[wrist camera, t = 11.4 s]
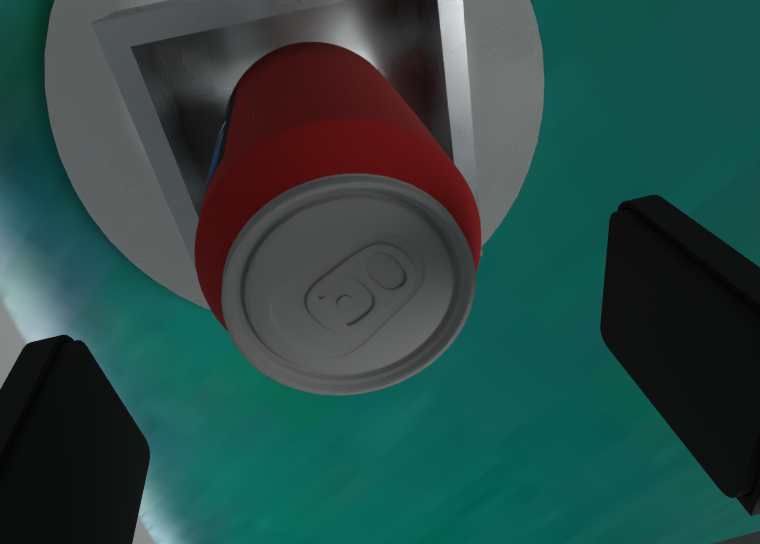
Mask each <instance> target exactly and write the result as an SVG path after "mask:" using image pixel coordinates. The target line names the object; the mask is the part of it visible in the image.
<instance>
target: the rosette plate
mask: <svg viewBox="0 0 760 544" xmlns="http://www.w3.org/2000/svg"><path fill="white" fill-rule="evenodd" d="M300 42H324V43H330V44H334V45H338V46H341V47H344V48H347V49H349V50H351V51H353V52H355V53H357V54H358V55H360V56H362V57H363V58H365V59H366V60H367V61H369V62H370V63H371V64H372V65H373V66H374V67H375V68H376V69H377V70H378V71H379V72H380V73H381V74H382V75H383V76H384V77H385V79H386V80H387V81H388V82H389V83H390V84H391V85H392V87H393V88H394V89H395V90H396V91H397V92H398V94H399V95H400V96H401V97H402V98H403V100H404V101H405V102H406V103H407V104H408V106H409V107H410V108H411V109H412V111H413V112H414V113H415V114H416V116H417V117H418V118H419V119H420V121H421V122H422V123H423V124H424V126H425V127H426V128H427V129H428V131H429V132H430V133H431V134H432V136H433V137H434V138H435V140H436V141H437V142H438V144H439V145H440V146H441V147H442V149H443V150H444V151H445V153H446V154H447V155H448V157H449V158H450V159H451V161H452V162H453V163H454V164H455V166H456V167H457V168H458V170H459V171H460V172H461V174H462V175H463V177H464V178H465V180H466V182H467V183H468V185H469V187H470V189H471V191H472V194H473V196H474V199H475V201H476V204H477V208H478V211H479V216H480V222H481V253H480V256H482V255H483V253H482V246H483V245H484V244H485V243H486V242H487V241H488V239H489V238H490V237H491V235H492V234H493V233H494V231H495V230H496V229H497V227H498V226H499V224H500V223H501V222H502V220H503V219H504V218H505V216H506V214H507V212H508V211H509V209H510V207H511V205H512V204H513V202H514V200H515V199H516V197H517V195H518V193H519V191H520V188H521V186H522V184H523V182H524V179H525V177H526V175H527V172H528V170H529V167H530V164H531V161H532V157H533V154H534V151H535V148H536V144H537V141H538V135H539V130H540V124H541V118H542V113H543V97H544V69H543V54H542V46H541V41H540V36H539V31H538V26H537V21H536V17H535V14H534V11H533V8H532V5H531V2H530V0H55V1H54V4H53V7H52V10H51V14H50V19H49V26H48V33H47V40H46V47H45V93H46V99H47V106H48V113H49V120H50V125H51V129H52V132H53V136H54V139H55V142H56V146H57V149H58V153H59V156H60V159H61V161H62V163H63V165H64V168H65V170H66V172H67V175H68V177H69V179H70V181H71V184H72V186H73V188H74V190H75V191H76V193H77V195H78V196H79V198H80V200H81V201H82V203H83V205H84V206H85V208H86V210H87V211H88V213H89V215H90V216H91V217H92V219H93V220H94V221H95V222H96V224H97V225H98V226H99V228H100V229H101V230H102V231H103V233H104V234H105V235H106V236H107V238H108V239H109V240H110V241H111V242H112V243H113V244H114V245H115V246H116V247H117V248H118V249H119V250H120V251H121V252H122V253H123V254H124V255H125V256H126V257H127V258H128V259H129V260H130V261H131V262H132V263H133V264H134V265H136V266H137V267H138V268H139V269H141V270H142V271H143V272H144V273H146V274H147V275H148V276H149V277H151V278H152V279H153V280H154V281H156V282H158V283H159V284H161V285H162V286H164V287H166V288H167V289H169V290H170V291H172V292H174V293H175V294H177V295H179V296H180V297H183V298H185V299H187V300H189V301H191V302H193V303H195V304H197V305H199V306H201V307H203V308H206V309H209V310H211V309H210V307H209V305H208V303H207V301H206V299H205V297H204V295H203V292H202V290H201V287H200V284H199V281H198V277H197V272H196V267H195V257H194V250H195V236H196V230H197V226H198V221H199V216H200V212H201V207H202V203H203V198H204V193H205V189H206V184H207V180H208V176H209V172H210V168H211V163H212V159H213V155H214V151H215V147H216V143H217V140H218V136H219V132H220V128H221V125H222V121H223V118H224V114H225V111H226V108H227V105H228V101H229V98H230V96H231V94H232V91H233V89H234V87H235V86H236V84H237V82H238V81H239V79H240V78H241V76H242V75H243V74H244V73H245V72H246V70H247V69H248V68H249V67H250V66H251V65H252V64H254V63H255V62H256V61H257V60H259V59H260V58H261V57H263V56H264V55H266V54H268V53H269V52H271V51H273V50H276V49H278V48H280V47H283V46H286V45H290V44H294V43H300ZM216 319H217V318H216Z"/></svg>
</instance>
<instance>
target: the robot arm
mask: <svg viewBox="0 0 760 544" xmlns="http://www.w3.org/2000/svg"><path fill="white" fill-rule="evenodd" d="M600 329H601V335H602V338H603V340H604V342H605V344H606V346H607V347H608V348H609V350H610V351H611V352H612V353H613V355H614V356H615V357H616V359H617V360H618V361H619V362H620V364H621V365H622V366H623V367H624V369H625V370H626V371H627V373H628V374H629V375H630V376H631V378H632V379H633V380H634V381H635V383H636V384H637V385H638V386H639V388H640V389H641V390H642V392H643V393H644V394H645V395H646V397H647V398H648V399H649V400H650V402H651V403H652V404H653V405H654V407H655V408H656V409H657V411H658V412H659V413H660V414H661V416H662V417H663V418H664V419H665V421H666V422H667V423H668V424H669V426H670V427H671V428H672V430H673V431H674V432H675V433H676V435H677V436H678V437H679V438H680V440H681V441H682V442H683V443H684V445H685V446H686V447H687V449H688V450H689V451H690V452H691V454H692V455H693V456H694V457H695V459H696V460H697V461H698V462H699V464H700V465H701V466H702V468H703V469H704V470H705V471H706V473H707V474H708V475H709V476H710V478H711V479H712V480H713V482H714V483H715V484H716V485H717V487H718V488H719V489H720V490H721V491H722V492H723V493H724V494H725V495H726V496H728V497H731V498H735V497H736V498H737V499H738V500H739V502H740V503H741V504H742V505H743V507H744V508H745V509H746V510H747V511H748V513H749V514H750V515H751V516H753V515H757V514H760V267H758V266H757V265H756V264H754V263H753V262H751V261H750V260H749V259H747V258H746V257H744V256H743V255H742V254H740V253H739V252H737V251H736V250H735V249H733V248H732V247H730V246H729V245H728V244H726V243H725V242H723V241H722V240H721V239H719V238H718V237H716V236H715V235H714V234H712V233H711V232H710V231H708V230H707V229H705V228H704V227H703V226H701V225H700V224H698V223H697V222H696V221H694V220H693V219H691V218H690V217H689V216H687V215H686V214H684V213H683V212H682V211H680V210H679V209H677V208H676V207H675V206H673V205H672V204H670V203H669V202H668V201H666V200H665V199H663V198H662V197H660V196H658V195H650V196H645V197H641V198H637V199H633V200H629V201H624V202H622V203H621V204H620V206H619V207H618V211H617V212H614V213H613V214H612V215H611V217H610V221H609V232H608V244H607V255H606V267H605V279H604V290H603V302H602V313H601V325H600ZM149 460H150V451H149V446H148V443H147V441H146V439H145V437H144V436H143V434H142V432H141V431H140V429H139V428H138V426H137V425H136V423H135V421H134V420H133V418H132V417H131V415H130V413H129V412H128V410H127V409H126V407H125V406H124V404H123V402H122V401H121V399H120V398H119V396H118V395H117V393H116V391H115V390H114V388H113V387H112V385H111V384H110V382H109V380H108V379H107V377H106V376H105V374H104V373H103V371H102V369H101V368H100V366H99V365H98V363H97V362H96V360H95V358H94V357H93V355H92V354H91V352H90V351H89V349H88V347H87V346H86V345H85V343H84V342H82V341H81V340H76V341H74V340H73V339H72V338H71V337H69V336H68V335H60V336H55V337H51V338H47V339H43V340H39V341H34V342H31V343H28V344H27V345H26V346H25V347H24V348H23V349H22V351H21V353H20V355H19V357H18V359H17V360H16V362H15V364H14V366H13V368H12V370H11V371H10V373H9V375H8V377H7V378H6V380H5V382H4V384H3V386H2V387H1V389H0V544H132V542H133V537H134V532H135V528H136V523H137V518H138V513H139V509H140V504H141V499H142V494H143V490H144V485H145V480H146V475H147V471H148V466H149ZM713 544H760V531H759V532H755V533H751V534H747V535H743V536H739V537H735V538H732V539H728V540H724V541H721V542H717V543H713Z"/></svg>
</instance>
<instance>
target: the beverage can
mask: <svg viewBox="0 0 760 544" xmlns="http://www.w3.org/2000/svg"><path fill="white" fill-rule="evenodd" d="M480 253H481V222H480V216H479V211H478V208H477V204H476V201H475V199H474V196H473V194H472V191H471V189H470V187H469V185H468V183H467V182H466V180H465V178H464V177H463V175H462V174H461V172H460V171H459V170H458V168H457V167H456V166H455V164H454V163H453V162H452V161H451V159H450V158H449V157H448V155H447V154H446V153H445V151H444V150H443V149H442V147H441V146H440V145H439V144H438V142H437V141H436V140H435V138H434V137H433V136H432V134H431V133H430V132H429V131H428V129H427V128H426V127H425V126H424V124H423V123H422V122H421V121H420V119H419V118H418V117H417V116H416V114H415V113H414V112H413V111H412V109H411V108H410V107H409V106H408V104H407V103H406V102H405V101H404V100H403V98H402V97H401V96H400V95H399V94H398V92H397V91H396V90H395V89H394V88H393V87H392V85H391V84H390V83H389V82H388V81H387V80H386V79H385V77H384V76H383V75H382V74H381V73H380V72H379V71H378V70H377V69H376V68H375V67H374V66H373V65H372V64H371V63H370V62H369V61H367V60H366V59H365V58H363V57H362V56H360V55H358V54H357V53H355V52H353V51H351V50H349V49H347V48H344V47H341V46H338V45H334V44H330V43H324V42H300V43H294V44H290V45H286V46H283V47H280V48H278V49H276V50H273V51H271V52H269V53H268V54H266V55H264V56H263V57H261V58H260V59H259V60H257V61H256V62H255V63H254V64H252V65H251V66H250V67H249V68H248V69H247V70H246V72H245V73H244V74H243V75H242V76H241V78H240V79H239V81H238V82H237V84H236V86H235V87H234V89H233V91H232V94H231V96H230V98H229V101H228V105H227V108H226V111H225V114H224V118H223V121H222V125H221V128H220V132H219V136H218V140H217V143H216V147H215V151H214V155H213V159H212V163H211V168H210V172H209V176H208V180H207V184H206V189H205V193H204V198H203V203H202V207H201V212H200V216H199V221H198V226H197V230H196V236H195V250H194V257H195V267H196V272H197V277H198V281H199V284H200V287H201V290H202V292H203V295H204V297H205V299H206V301H207V303H208V305H209V307H210V309H211V311H212V312H213V314H214V315H215V317H216V318H217V320H218V321H219V322H220V323H221V324H222V326H223V327H224V328H225V329H226V330H227V331H228V332H229V334H230V336H231V338H232V340H233V342H234V344H235V345H236V347H237V348H238V349H239V351H240V352H241V353H242V354H243V356H244V357H245V358H246V359H247V360H248V361H249V362H250V363H251V364H252V365H253V366H254V367H256V368H257V369H258V370H259V371H261V372H262V373H263V374H265V375H266V376H268V377H270V378H272V379H273V380H275V381H277V382H279V383H281V384H283V385H286V386H289V387H291V388H294V389H298V390H301V391H305V392H310V393H316V394H323V395H351V394H361V393H366V392H371V391H375V390H379V389H383V388H386V387H388V386H391V385H394V384H397V383H399V382H401V381H403V380H405V379H407V378H409V377H411V376H413V375H415V374H417V373H418V372H420V371H421V370H423V369H424V368H425V367H427V366H428V365H430V364H431V363H432V362H433V361H435V360H436V359H437V358H438V357H439V356H440V355H441V354H442V353H443V352H444V351H445V350H446V349H447V348H448V347H449V346H450V345H451V343H452V342H453V341H454V339H455V338H456V337H457V335H458V334H459V332H460V331H461V329H462V327H463V325H464V324H465V322H466V319H467V317H468V315H469V312H470V310H471V306H472V303H473V298H474V294H475V283H476V272H477V269H478V265H479V260H480Z"/></svg>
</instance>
